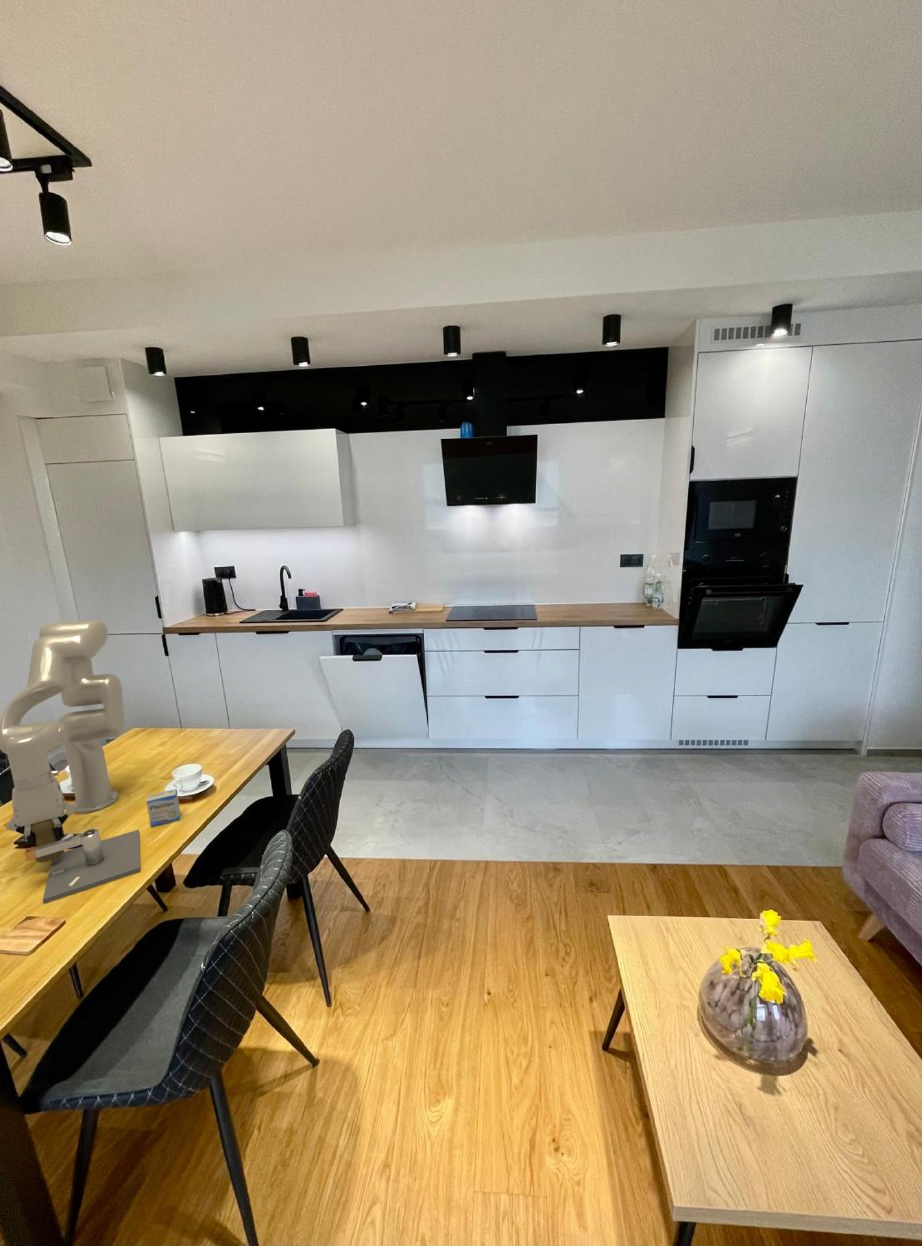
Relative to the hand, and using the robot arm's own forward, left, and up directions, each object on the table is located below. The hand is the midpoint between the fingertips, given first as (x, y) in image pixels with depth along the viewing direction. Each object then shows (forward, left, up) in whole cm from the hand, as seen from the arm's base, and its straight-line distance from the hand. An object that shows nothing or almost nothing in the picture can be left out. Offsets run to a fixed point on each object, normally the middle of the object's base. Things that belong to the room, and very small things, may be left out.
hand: (47, 842), depth 136 cm
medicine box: (-6, +27, -7) cm, 29 cm away
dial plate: (+7, +10, -7) cm, 14 cm away
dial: (+7, +4, -5) cm, 10 cm away
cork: (0, 0, -4) cm, 4 cm away
